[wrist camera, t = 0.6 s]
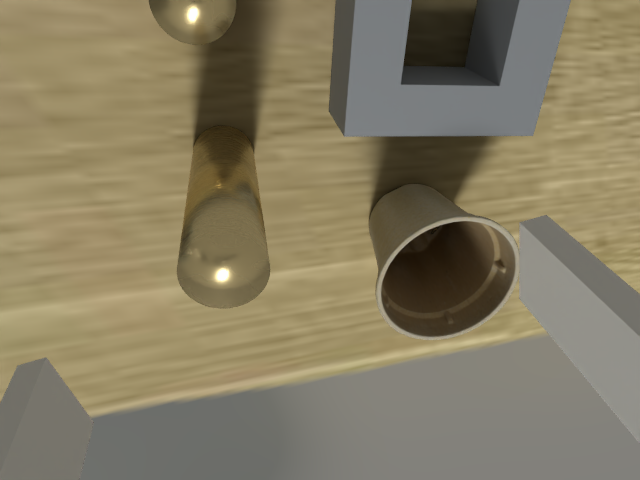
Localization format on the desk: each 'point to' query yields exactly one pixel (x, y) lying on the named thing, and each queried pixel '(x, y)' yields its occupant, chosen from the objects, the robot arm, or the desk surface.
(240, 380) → the desk surface
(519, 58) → the slate block
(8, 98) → the desk surface
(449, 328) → the flower pot
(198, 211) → the long pin
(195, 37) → the short pin
